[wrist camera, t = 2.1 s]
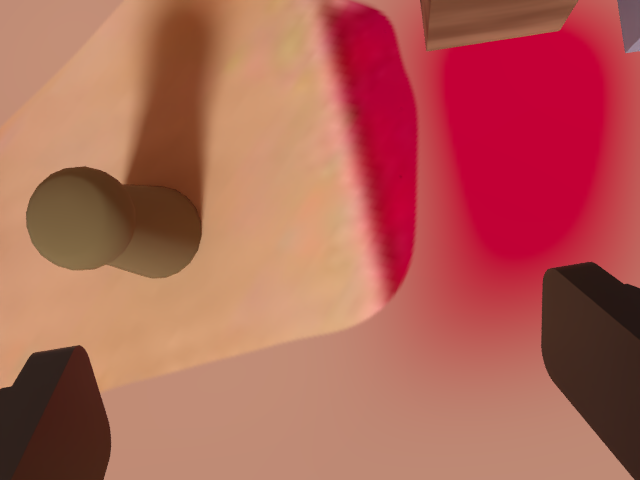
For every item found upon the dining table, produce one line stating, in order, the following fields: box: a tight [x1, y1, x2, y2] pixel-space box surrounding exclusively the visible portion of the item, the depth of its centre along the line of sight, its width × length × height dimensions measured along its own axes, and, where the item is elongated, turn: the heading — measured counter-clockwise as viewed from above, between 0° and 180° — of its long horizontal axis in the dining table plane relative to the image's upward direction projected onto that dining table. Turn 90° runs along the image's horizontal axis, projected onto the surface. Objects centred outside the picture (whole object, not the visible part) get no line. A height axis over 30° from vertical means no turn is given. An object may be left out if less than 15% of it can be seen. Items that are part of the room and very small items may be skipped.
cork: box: [26, 167, 201, 278], centre depth 34 cm, size 6×6×11 cm
